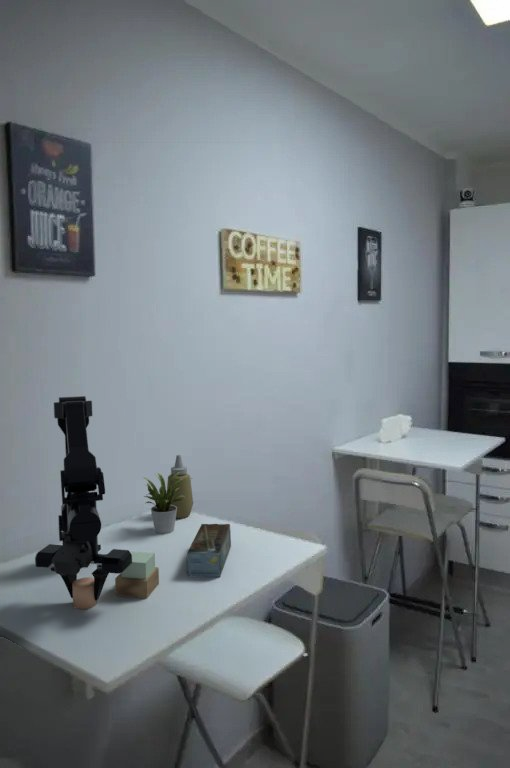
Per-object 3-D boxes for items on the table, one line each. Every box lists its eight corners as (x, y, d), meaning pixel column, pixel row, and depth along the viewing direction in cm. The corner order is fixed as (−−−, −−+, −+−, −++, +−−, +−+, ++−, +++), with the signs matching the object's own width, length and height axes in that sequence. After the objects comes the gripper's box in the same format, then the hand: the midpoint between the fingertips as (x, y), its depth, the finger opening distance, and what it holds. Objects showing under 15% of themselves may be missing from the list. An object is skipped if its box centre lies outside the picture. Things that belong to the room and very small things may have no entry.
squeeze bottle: (160, 515, 181) (159, 455, 179) (182, 509, 187) (181, 451, 185) (177, 522, 176) (175, 460, 174) (199, 515, 181) (198, 455, 179)
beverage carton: (185, 577, 139) (185, 549, 138) (200, 546, 158) (200, 521, 157) (220, 578, 138) (220, 550, 137) (231, 547, 157) (231, 522, 156)
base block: (115, 596, 130) (115, 578, 129) (128, 582, 136) (128, 565, 136) (147, 599, 128) (146, 581, 128) (159, 585, 135) (158, 567, 135)
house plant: (196, 520, 177) (195, 464, 175) (194, 537, 163) (193, 477, 161) (145, 521, 176) (144, 465, 174) (139, 539, 162) (138, 478, 160)
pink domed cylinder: (68, 608, 124) (67, 586, 124) (80, 597, 129) (79, 576, 128) (90, 610, 123) (90, 588, 123) (101, 599, 128) (100, 578, 127)
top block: (121, 577, 130) (120, 561, 129) (131, 566, 135) (130, 551, 135) (146, 579, 129) (145, 562, 128) (155, 568, 134) (154, 553, 134)
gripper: (17, 535, 118) (21, 613, 120) (108, 542, 114) (110, 622, 116) (48, 516, 129) (51, 588, 131) (132, 522, 125) (134, 596, 127)
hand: (85, 598), depth 126 cm, fingers closed on pink domed cylinder, 5 cm apart
